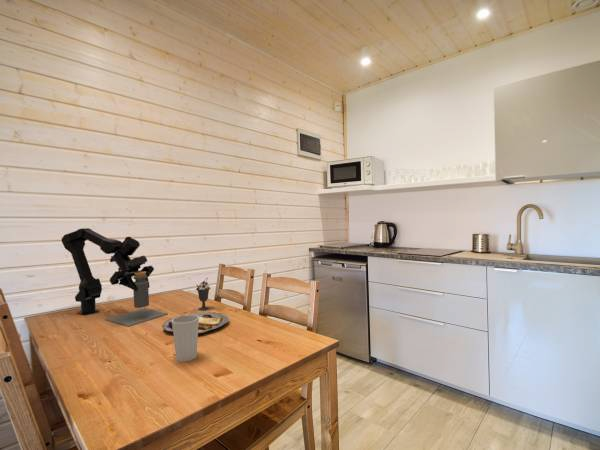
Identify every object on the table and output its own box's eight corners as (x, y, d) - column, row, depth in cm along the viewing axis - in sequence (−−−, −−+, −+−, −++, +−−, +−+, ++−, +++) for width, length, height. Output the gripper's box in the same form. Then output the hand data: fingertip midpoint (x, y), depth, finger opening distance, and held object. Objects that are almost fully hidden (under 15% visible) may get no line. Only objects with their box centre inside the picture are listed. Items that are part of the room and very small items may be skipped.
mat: (105, 319, 132) (105, 318, 132) (144, 309, 147) (144, 308, 147) (128, 326, 123) (128, 325, 123) (167, 314, 138) (167, 313, 138)
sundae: (213, 307, 148) (213, 277, 148) (204, 311, 142) (203, 279, 142) (203, 306, 151) (202, 276, 150) (193, 310, 144) (192, 278, 144)
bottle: (148, 303, 137) (147, 270, 136) (149, 306, 132) (147, 272, 131) (134, 305, 134) (132, 271, 133) (134, 308, 129) (132, 274, 128)
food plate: (149, 333, 115) (149, 324, 115) (187, 315, 137) (188, 307, 137) (207, 341, 108) (207, 331, 108) (237, 320, 130) (237, 312, 130)
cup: (183, 365, 89) (182, 324, 89) (167, 359, 93) (166, 320, 93) (205, 354, 96) (204, 317, 95) (188, 349, 100) (188, 313, 100)
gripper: (113, 252, 125) (133, 280, 121) (150, 248, 142) (169, 273, 139) (101, 270, 128) (120, 298, 124) (138, 264, 145) (156, 288, 142)
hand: (143, 288), depth 132 cm, fingers closed on bottle, 6 cm apart
